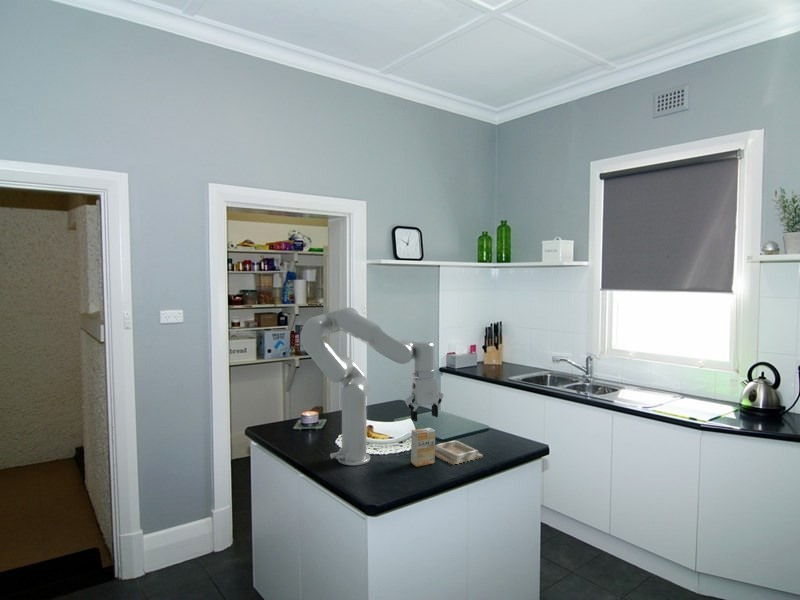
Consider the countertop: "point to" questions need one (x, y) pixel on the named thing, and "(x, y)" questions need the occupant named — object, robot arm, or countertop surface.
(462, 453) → the board
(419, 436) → the supplement box
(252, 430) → the countertop surface
